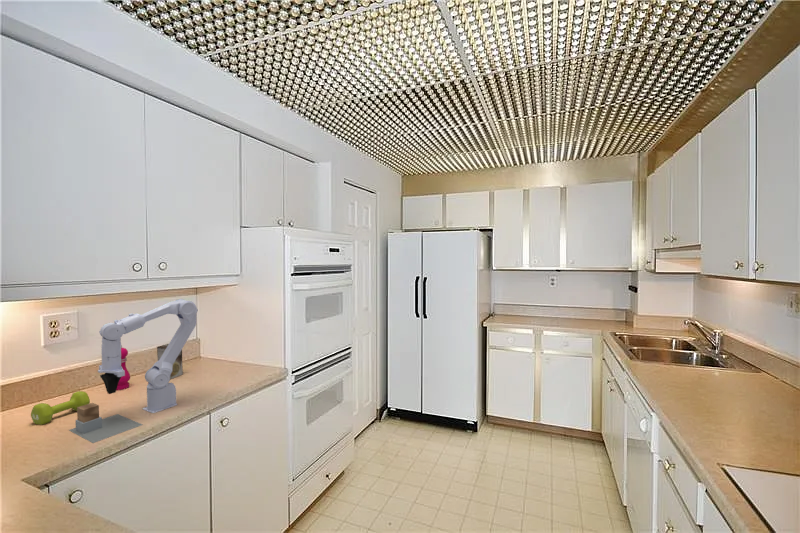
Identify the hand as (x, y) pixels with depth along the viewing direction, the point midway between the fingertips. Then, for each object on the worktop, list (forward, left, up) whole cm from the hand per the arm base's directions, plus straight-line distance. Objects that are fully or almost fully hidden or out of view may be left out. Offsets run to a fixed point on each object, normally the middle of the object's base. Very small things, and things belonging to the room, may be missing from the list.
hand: (111, 392), depth 139 cm
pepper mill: (-18, -35, -11) cm, 41 cm away
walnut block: (+8, +1, -7) cm, 10 cm away
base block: (+8, +1, -10) cm, 13 cm away
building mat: (+4, +5, -10) cm, 12 cm away
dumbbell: (+8, -21, -11) cm, 25 cm away
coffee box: (-38, -31, -11) cm, 51 cm away
